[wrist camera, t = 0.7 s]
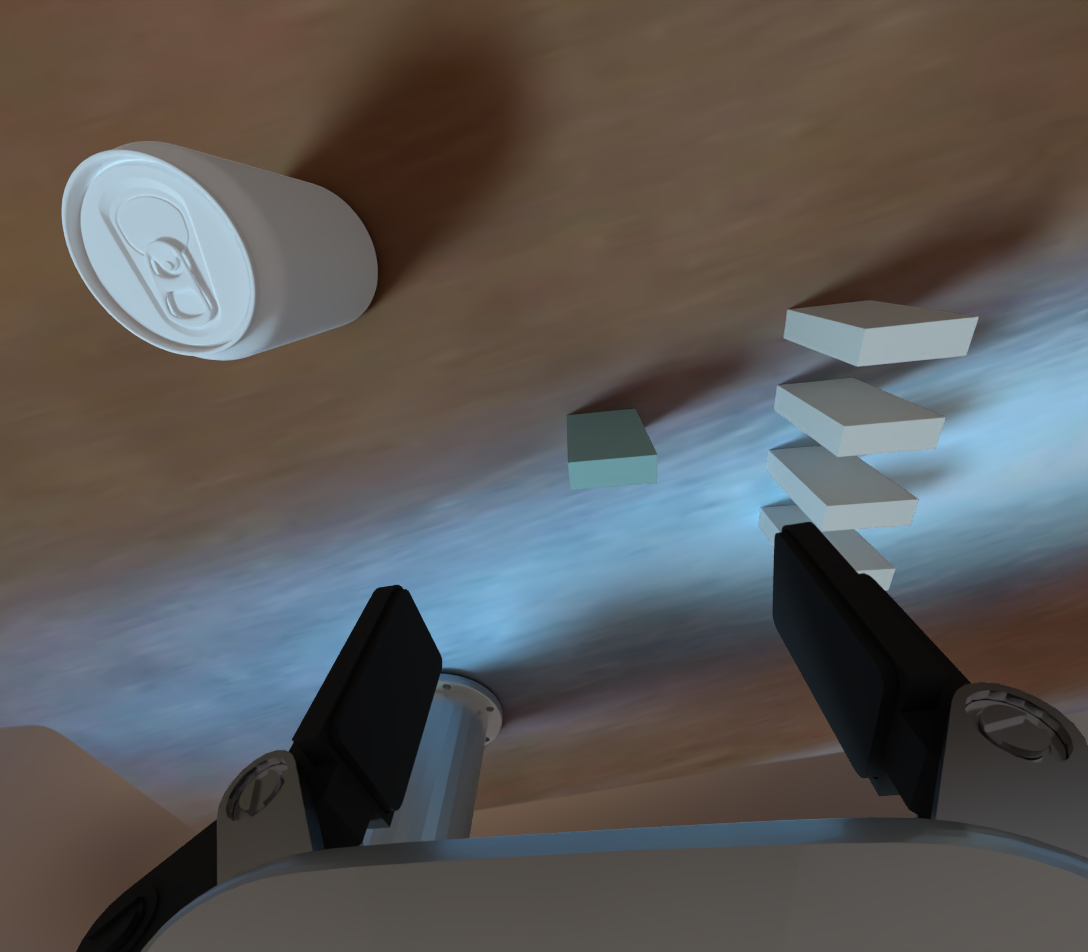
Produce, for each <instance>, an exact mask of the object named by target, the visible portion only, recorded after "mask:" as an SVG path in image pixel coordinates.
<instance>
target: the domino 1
mask: <svg viewBox="0 0 1088 952" xmlns="http://www.w3.org/2000/svg"><path fill="white" fill-rule="evenodd" d="M567 443H568V467H569V477H570V487H571V490H578V489H590V488H602V487H614V486H626V485H639V484H651V483H657V453H656V451H655V449H654V447H653V445H652V442H651V440H650V438H649V436H648V434H647V432H646V430H645V428H644V425H643V423H642V421H641V419H640V417H639V415H638V413H637V411H636V409H626V410H615V411H605V412H595V413H585V414H575V415H567Z"/></svg>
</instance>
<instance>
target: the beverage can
mask: <svg viewBox="0 0 1088 952" xmlns="http://www.w3.org/2000/svg"><path fill="white" fill-rule="evenodd" d="M62 223H63V230H64V235H65V239H66V243H67V246H68V249H69V252H70V255H71V257H72V259H73V262H74V264H75V266H76V268H77V270H78V272H79V274H80V276H81V277H82V279H83V281H84V282H85V284H86V285H87V287H88V288H89V290H90V291H91V293H92V294H93V295H94V297H95V298H96V299H97V300H98V301H99V303H100V304H101V305H102V306H103V307H104V308H105V309H106V310H107V311H108V313H109V314H110V315H112V316H113V317H114V318H115V319H116V320H117V321H118V322H119V323H120V324H122V325H123V326H124V327H125V328H127V329H128V330H129V331H131V332H132V333H133V334H135V335H136V336H138V337H140V338H141V339H143V340H145V341H146V342H148V343H150V344H152V345H154V346H157V347H159V348H161V349H164V350H167V351H170V352H173V353H177V354H182V355H189V356H196V357H200V358H205V359H212V360H235V359H241V358H245V357H248V356H251V355H254V354H257V353H260V352H263V351H267V350H270V349H273V348H276V347H279V346H282V345H285V344H288V343H291V342H294V341H297V340H300V339H303V338H306V337H309V336H312V335H316V334H319V333H322V332H325V331H328V330H331V329H334V328H337V327H340V326H343V325H346V324H348V323H350V322H352V321H354V320H356V319H357V318H358V317H360V316H361V315H362V314H363V313H364V312H365V310H366V309H367V308H368V306H369V305H370V303H371V301H372V299H373V297H374V294H375V291H376V287H377V280H378V265H377V258H376V253H375V249H374V246H373V243H372V240H371V238H370V236H369V233H368V231H367V229H366V228H365V226H364V224H363V223H362V221H361V220H360V218H359V217H358V216H357V214H356V213H355V212H354V211H353V210H352V208H351V207H350V206H349V205H348V204H347V203H346V202H344V201H343V200H342V199H341V198H340V197H338V196H337V195H336V194H334V193H332V192H331V191H329V190H327V189H325V188H323V187H321V186H319V185H316V184H313V183H309V182H306V181H302V180H299V179H295V178H292V177H288V176H285V175H281V174H278V173H274V172H270V171H267V170H263V169H260V168H256V167H253V166H249V165H245V164H242V163H238V162H235V161H231V160H228V159H224V158H221V157H217V156H213V155H210V154H206V153H203V152H199V151H196V150H192V149H189V148H185V147H181V146H178V145H174V144H170V143H164V142H155V141H142V142H133V143H129V144H125V145H122V146H119V147H117V148H115V149H113V150H108V151H103V152H100V153H97V154H95V155H93V156H91V157H89V158H87V159H86V160H84V161H83V162H82V163H81V164H80V165H79V166H78V167H77V168H76V169H75V170H74V172H73V173H72V175H71V176H70V178H69V180H68V182H67V185H66V188H65V191H64V195H63V201H62Z"/></svg>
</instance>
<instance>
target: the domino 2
mask: <svg viewBox="0 0 1088 952" xmlns="http://www.w3.org/2000/svg"><path fill="white" fill-rule="evenodd" d="M978 318H979V317H978V316H971V315H965V314H958V313H951V312H945V311H938V310H932V309H925V308H919V307H912V306H906V305H899V304H892V303H886V302H879V301H873V300H866V301H857V302H849V303H840V304H831V305H822V306H814V307H805V308H796V309H788V310H787V317H786V324H785V331H784V339H787V340H789V341H792V342H795V343H797V344H800V345H802V346H805V347H808V348H810V349H813V350H815V351H818V352H820V353H823V354H826V355H828V356H831V357H833V358H836V359H839V360H841V361H844V362H846V363H849V364H852V365H854V366H857V367H859V366H869V365H879V364H889V363H899V362H909V361H918V360H928V359H938V358H948V357H958V356H966V354H967V351H968V348H969V345H970V342H971V339H972V336H973V333H974V330H975V327H976V324H977V321H978Z"/></svg>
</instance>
